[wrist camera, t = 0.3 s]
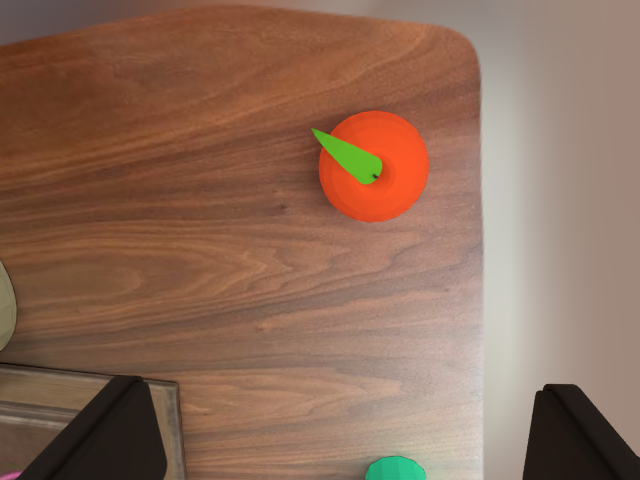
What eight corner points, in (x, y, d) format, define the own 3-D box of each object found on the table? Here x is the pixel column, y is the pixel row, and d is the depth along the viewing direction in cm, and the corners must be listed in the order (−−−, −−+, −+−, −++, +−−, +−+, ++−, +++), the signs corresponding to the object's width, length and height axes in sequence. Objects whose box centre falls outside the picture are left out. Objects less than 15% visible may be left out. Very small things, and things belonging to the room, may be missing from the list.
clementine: (293, 168, 27) (272, 183, 20) (345, 83, 25) (340, 67, 18) (381, 225, 28) (389, 259, 21) (439, 147, 25) (468, 156, 19)
